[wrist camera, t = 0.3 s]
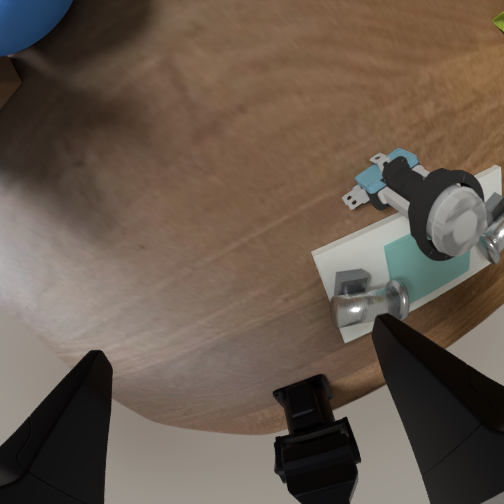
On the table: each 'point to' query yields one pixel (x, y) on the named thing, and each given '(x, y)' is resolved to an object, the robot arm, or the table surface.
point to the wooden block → (7, 80)
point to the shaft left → (365, 299)
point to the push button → (425, 202)
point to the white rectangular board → (400, 259)
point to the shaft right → (493, 229)
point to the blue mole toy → (28, 22)
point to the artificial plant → (499, 21)
